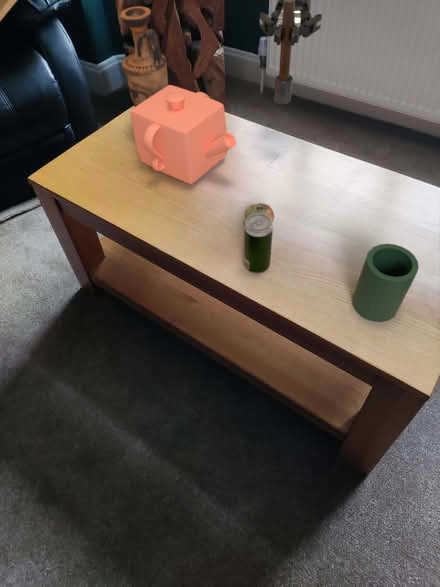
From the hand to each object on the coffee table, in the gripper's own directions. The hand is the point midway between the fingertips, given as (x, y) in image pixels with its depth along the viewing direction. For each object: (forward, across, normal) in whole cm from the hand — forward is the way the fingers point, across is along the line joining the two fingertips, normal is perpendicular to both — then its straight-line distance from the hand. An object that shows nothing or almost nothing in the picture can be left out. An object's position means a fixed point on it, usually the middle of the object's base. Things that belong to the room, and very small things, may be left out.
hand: (285, 40), depth 86 cm
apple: (+23, -1, +30) cm, 38 cm away
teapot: (+4, -21, +29) cm, 36 cm away
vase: (-9, -34, +29) cm, 46 cm away
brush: (-3, 0, +14) cm, 14 cm away
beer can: (+34, 0, +30) cm, 45 cm away
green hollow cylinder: (+40, +23, +30) cm, 55 cm away
